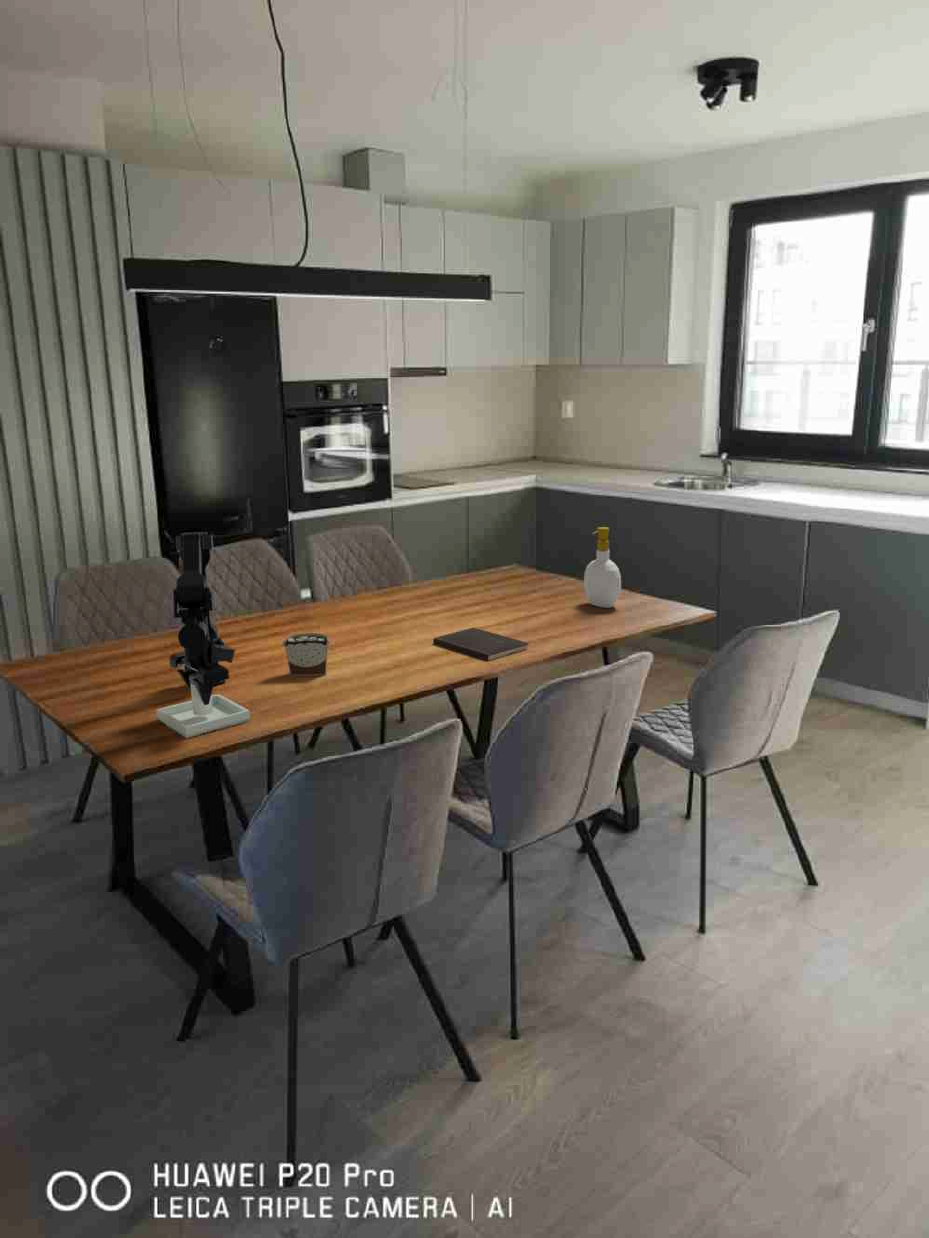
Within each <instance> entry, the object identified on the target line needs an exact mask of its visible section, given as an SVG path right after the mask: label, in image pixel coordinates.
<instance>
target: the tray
mask: <svg viewBox="0 0 929 1238" xmlns="http://www.w3.org/2000/svg"><path fill="white" fill-rule="evenodd" d="M211 696H212V707H213V712H212V713H211V714H208V715H202V716H198V715H194V714H193V706H192V700H189V701H185V702H180V703H177V704H172V705H169V706H165V707H161V708H156V719H158V720H157V721H159V720H160V721H161V723H162V722H163V723H164V725H165V724H166V725H165V726H167V728H170V729H171V730H173V731H174V730H175V731H174V732H176V733H177V732H178V733H177V734H179V735H180V734H181V735H180V736H182V737H183V738H185V737H186V738H185V739H190V738H193V736H194V737H196V735H197V736H201V735H204V734H203V733H205V734H207V732H208V733H211V732H210V731H212V732H214V731H213V730H216V731H218V730H222V729H226V728H229V727H233V725H234V726H237V725H241V724H244V723H248V722H250V721H251V713H250V710H249V709H247V708H245V707H244V706H241V705H240V704H238V703H236V702H235V701H232V700H231V699H229V698H227V697H226V696H223V695H221V694H219V693H217V694H213V695H212V694H211ZM160 721H159V722H160ZM163 723H162V724H163ZM200 734H201V735H200ZM189 737H190V738H189Z"/></svg>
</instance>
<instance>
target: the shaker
mask: <svg viewBox="0 0 929 1238" xmlns="http://www.w3.org/2000/svg"><path fill="white" fill-rule="evenodd" d="M196 678H197V675H196V673H193V674H191V675H189V680H190V685H191V692H190V694H191V695H190V696H191V701H192V706H193V714H194V715H198V716H202V715H208V714H211V713H212V712H213V707H212V695H211V698H210V702H209V704H208V705H204V704H203V702H202V700H201V697H200V695H199V693H198V691H197V688H196V686H195V684H194V682H193V679H196Z"/></svg>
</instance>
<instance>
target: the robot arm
mask: <svg viewBox="0 0 929 1238" xmlns="http://www.w3.org/2000/svg"><path fill="white" fill-rule="evenodd" d="M175 544H176V552H177V553H180V559H181V562H182V574H181V575H180V576H179V577H178V578H177V579H176V586H175V588H173V590H172V591H173V595H172V596H173V619H178V618H179V619H180V623H181V624H180V627H179V630H178V635H177V637H178V638H177V639H178V642H179V646H180V647H182V648H183V651H180V652H179V651H178V652H175V653H171V656H170V657H169V659H168V660H169V666H170V667H172V668H174V669H177V668H178V667H179V669H177V670H176V672H177V673H178V674H179V676H180V677H181V680H182V681H183V683H184V684H185V685H186V687H187V688H188V690H189V692H190V693H191V685H190V680H189V675H191V674H193V673H196V675H197V678H196V679H193V682H194V684H195V686H196V688H197V691H198V693H199V695H200V697H201V700H202V702H203V704H204V705H208V704H209V702H210V698H211V696H212V693H213V689H214V686H216V685H221V684H225V683H226V682H227V681H226V680H229V679H230V671H229V669H228V668H227V667H225V666H223V665H221V664H220V663H219V662H227V663H230V664H231V663H232V664H233V661H234V656H235V652H236V649H234V648H233V647H230V646H229V645H226V644H225V642H223V640H222V637H220V636H219V630H218V628H217V627H216V626H215V624H214V623H213V622H212V620H211V619H212V618H211V611H214V610H213V609H214V608H213V591H212V590H211V588H210V586H209V584H208V572H207V566H208V564H209V563H210V560H211V557H212V551H214V539H213V535H212V534H208V532H207V531H200V532H199V531H197V532H183V533H181V534H180V535H177V536H175Z"/></svg>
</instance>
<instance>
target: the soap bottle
mask: <svg viewBox="0 0 929 1238" xmlns="http://www.w3.org/2000/svg"><path fill="white" fill-rule="evenodd" d="M609 532H610V527H607V526H600V527H597V530H595V531H594V532H592V535H596V534H598V539H599V540H597V549H596V559H594V560H592V561H590V562H589V564H587V565H586V568H585V571H584V576H583V577H584V578H583V582H584V583H583V584H584V591H585V594H586V598H587V601H588V603H589V604H590V605H592V606H594V607H598V608H603V609H611V608H613V607H615V606H616V605H617V602H618V600H619V598H620V595H621V588H622V578H621V577H622V575H621V573H620V569H619V567H618V566H617V565H616V563H615V562H613V560H611V559H610V548H609V546H610V545H609V543H610V542H609V539H608V538H609ZM607 539H608V540H607Z"/></svg>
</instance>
